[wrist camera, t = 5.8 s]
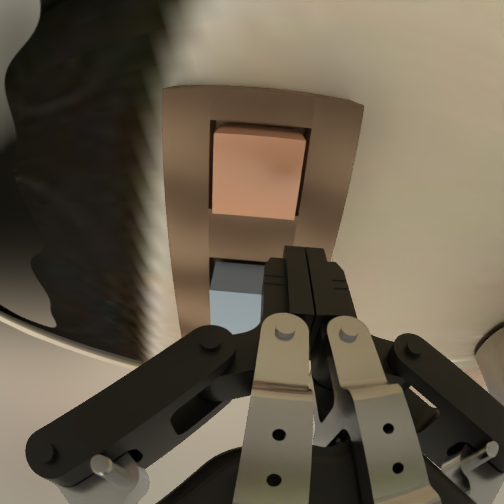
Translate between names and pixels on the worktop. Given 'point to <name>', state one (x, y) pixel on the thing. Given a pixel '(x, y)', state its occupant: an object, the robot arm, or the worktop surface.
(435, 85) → the worktop surface
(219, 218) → the button panel
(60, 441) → the robot arm
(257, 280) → the slate blue button
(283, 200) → the terracotta button
